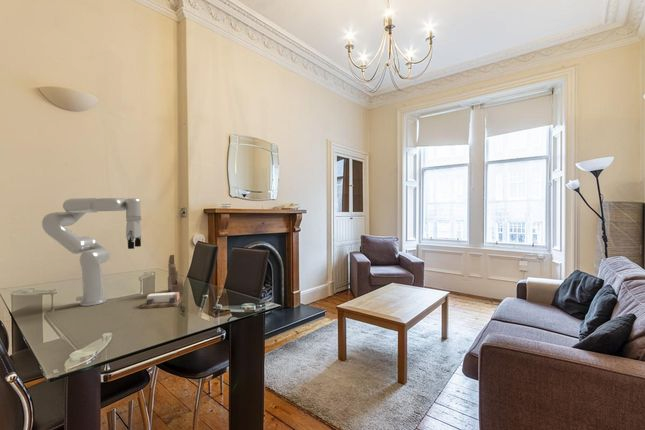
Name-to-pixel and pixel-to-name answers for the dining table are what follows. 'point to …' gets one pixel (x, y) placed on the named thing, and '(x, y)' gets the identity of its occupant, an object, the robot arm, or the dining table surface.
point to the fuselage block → (163, 296)
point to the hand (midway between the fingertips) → (134, 247)
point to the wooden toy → (174, 277)
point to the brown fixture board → (162, 303)
